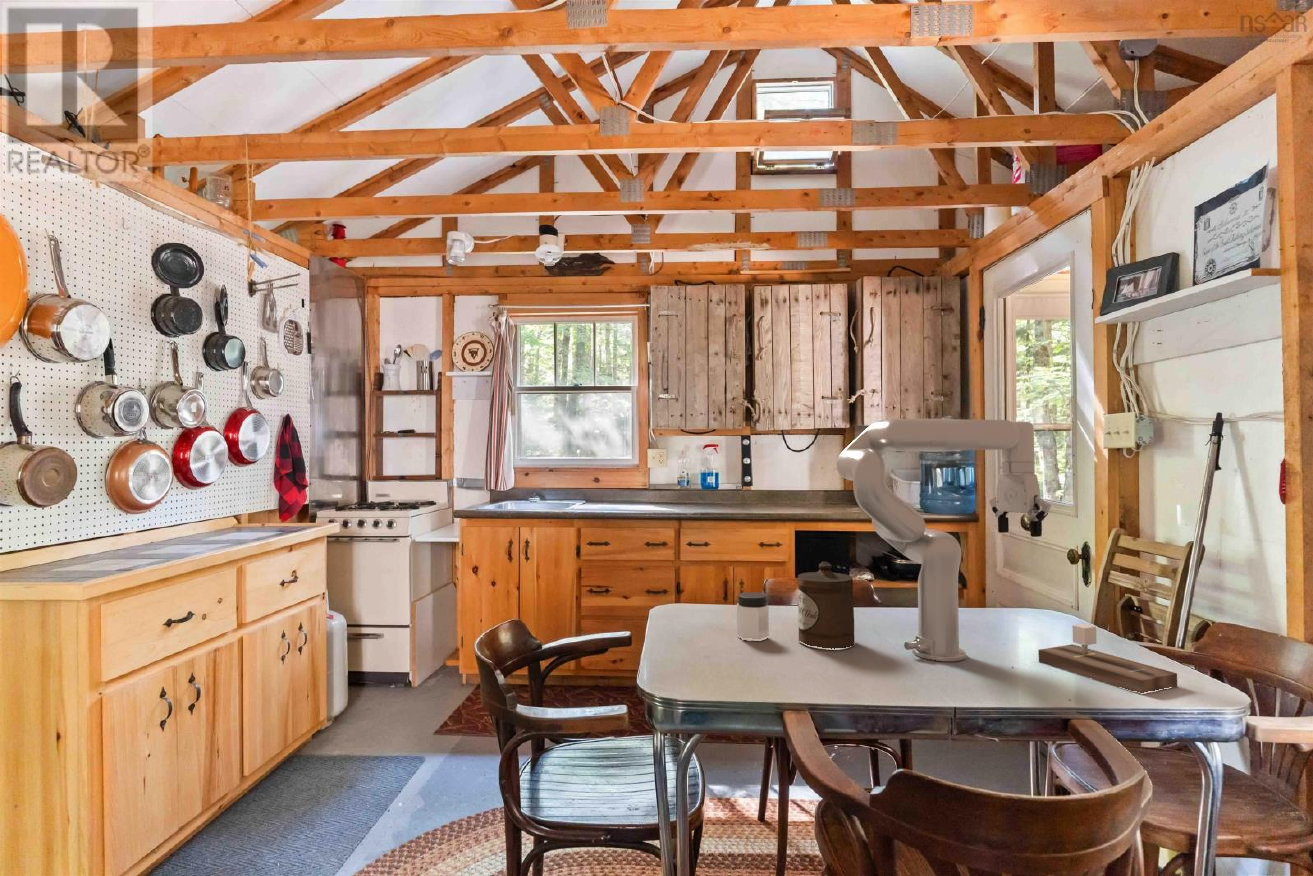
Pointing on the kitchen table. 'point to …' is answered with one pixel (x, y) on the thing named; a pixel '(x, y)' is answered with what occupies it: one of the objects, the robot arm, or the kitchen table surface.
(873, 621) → the kitchen table surface
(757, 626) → the jar
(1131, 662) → the control board
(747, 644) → the kitchen table surface
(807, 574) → the wooden container
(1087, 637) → the block
